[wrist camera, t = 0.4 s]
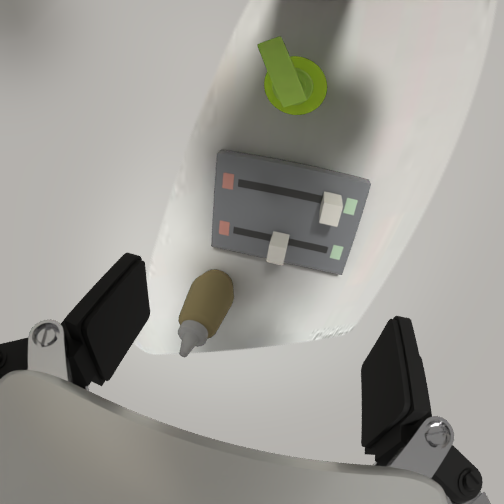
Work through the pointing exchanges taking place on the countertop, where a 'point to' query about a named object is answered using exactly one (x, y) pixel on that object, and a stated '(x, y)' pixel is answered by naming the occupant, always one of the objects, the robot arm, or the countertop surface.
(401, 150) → the countertop surface
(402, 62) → the countertop surface
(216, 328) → the squeeze bottle
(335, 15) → the countertop surface
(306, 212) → the slider switch panel
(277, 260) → the block
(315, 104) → the soap dispenser
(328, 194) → the block
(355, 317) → the countertop surface
